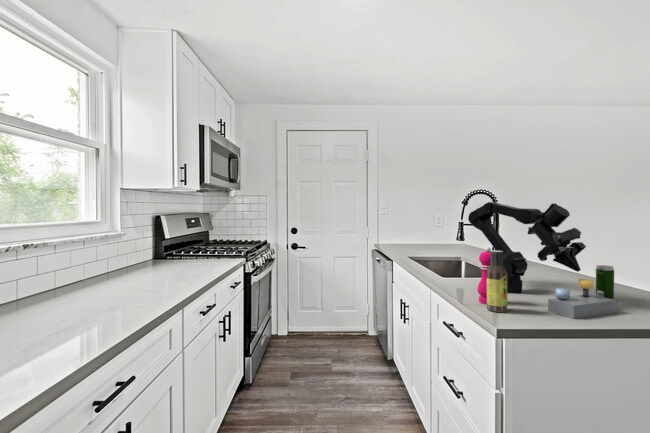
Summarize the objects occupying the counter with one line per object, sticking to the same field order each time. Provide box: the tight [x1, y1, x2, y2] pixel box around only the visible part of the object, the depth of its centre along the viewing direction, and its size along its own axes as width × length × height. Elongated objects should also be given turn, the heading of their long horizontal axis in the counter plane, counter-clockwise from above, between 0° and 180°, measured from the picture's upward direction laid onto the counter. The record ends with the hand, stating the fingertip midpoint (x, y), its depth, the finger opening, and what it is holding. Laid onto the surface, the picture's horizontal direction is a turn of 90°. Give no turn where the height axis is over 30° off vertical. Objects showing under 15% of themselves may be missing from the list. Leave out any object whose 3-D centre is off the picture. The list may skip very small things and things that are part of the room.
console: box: [547, 293, 617, 320], centre depth 123 cm, size 18×9×4 cm, turn 108°
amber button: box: [578, 278, 594, 298], centre depth 126 cm, size 4×4×6 cm
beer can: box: [595, 264, 615, 300], centre depth 137 cm, size 5×5×12 cm
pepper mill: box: [477, 246, 491, 305], centre depth 136 cm, size 7×7×20 cm
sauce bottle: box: [486, 249, 508, 313], centre depth 126 cm, size 6×6×20 cm
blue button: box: [555, 287, 571, 300], centre depth 123 cm, size 4×4×6 cm
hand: (579, 270), depth 128 cm, fingers closed
